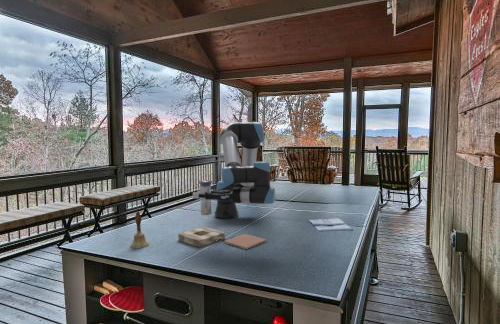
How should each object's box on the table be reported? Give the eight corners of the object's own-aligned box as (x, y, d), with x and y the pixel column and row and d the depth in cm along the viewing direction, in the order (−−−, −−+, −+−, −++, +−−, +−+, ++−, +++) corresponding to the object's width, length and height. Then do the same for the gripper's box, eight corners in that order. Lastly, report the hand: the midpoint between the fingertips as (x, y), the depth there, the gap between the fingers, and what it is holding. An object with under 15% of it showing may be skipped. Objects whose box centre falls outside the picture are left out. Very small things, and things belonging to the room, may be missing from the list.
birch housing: (203, 232, 159) (203, 226, 159) (224, 238, 149) (224, 232, 149) (178, 240, 148) (178, 234, 147) (199, 247, 137) (199, 240, 137)
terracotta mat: (244, 235, 152) (244, 233, 152) (266, 241, 143) (266, 239, 143) (224, 243, 142) (224, 241, 142) (246, 249, 133) (246, 247, 132)
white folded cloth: (340, 221, 178) (340, 217, 178) (353, 231, 158) (353, 227, 158) (308, 222, 177) (308, 218, 177) (317, 232, 157) (317, 228, 157)
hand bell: (129, 249, 136) (127, 214, 135) (131, 243, 144) (129, 210, 143) (148, 247, 138) (147, 213, 137) (149, 241, 146) (148, 209, 145)
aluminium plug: (207, 211, 150) (206, 179, 149) (215, 213, 146) (214, 180, 145) (196, 214, 146) (195, 181, 144) (205, 216, 141) (204, 182, 140)
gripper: (237, 207, 133) (188, 205, 138) (246, 199, 150) (202, 198, 155) (236, 190, 132) (187, 189, 137) (246, 184, 150) (202, 184, 155)
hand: (195, 194), depth 146 cm, fingers closed on aluminium plug, 5 cm apart
